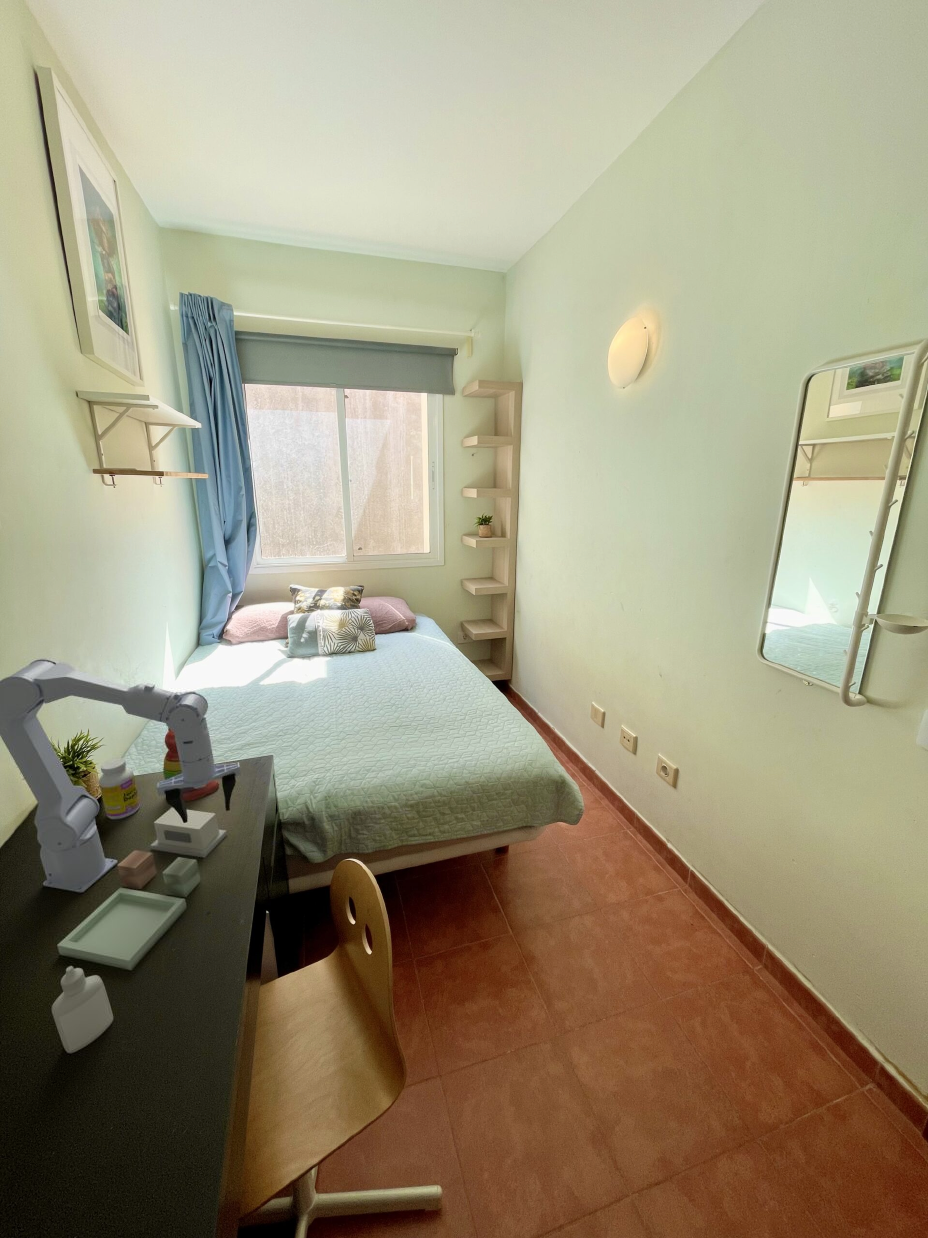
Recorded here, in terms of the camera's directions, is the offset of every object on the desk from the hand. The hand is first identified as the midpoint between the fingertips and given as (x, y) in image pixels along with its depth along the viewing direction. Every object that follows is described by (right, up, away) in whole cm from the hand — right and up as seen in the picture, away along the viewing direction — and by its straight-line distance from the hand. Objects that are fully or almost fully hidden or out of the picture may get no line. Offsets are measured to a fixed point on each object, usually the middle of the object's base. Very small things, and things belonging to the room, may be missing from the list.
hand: (207, 813), depth 100 cm
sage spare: (-1, -12, -6) cm, 13 cm away
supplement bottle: (-28, -6, +16) cm, 33 cm away
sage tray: (-6, -14, -15) cm, 21 cm away
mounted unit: (-7, -8, +6) cm, 12 cm away
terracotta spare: (-11, -11, -4) cm, 16 cm away
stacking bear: (-16, -4, +24) cm, 29 cm away
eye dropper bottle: (-1, -19, -30) cm, 36 cm away
